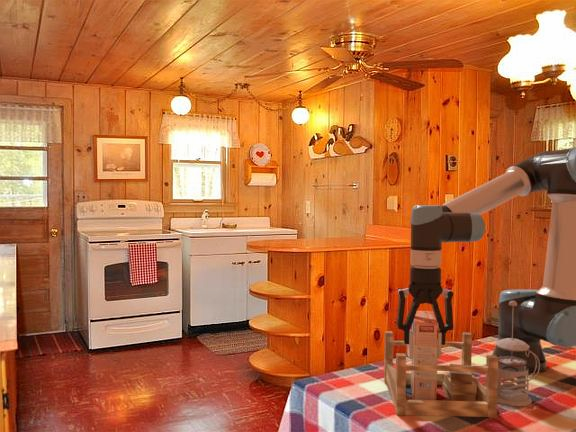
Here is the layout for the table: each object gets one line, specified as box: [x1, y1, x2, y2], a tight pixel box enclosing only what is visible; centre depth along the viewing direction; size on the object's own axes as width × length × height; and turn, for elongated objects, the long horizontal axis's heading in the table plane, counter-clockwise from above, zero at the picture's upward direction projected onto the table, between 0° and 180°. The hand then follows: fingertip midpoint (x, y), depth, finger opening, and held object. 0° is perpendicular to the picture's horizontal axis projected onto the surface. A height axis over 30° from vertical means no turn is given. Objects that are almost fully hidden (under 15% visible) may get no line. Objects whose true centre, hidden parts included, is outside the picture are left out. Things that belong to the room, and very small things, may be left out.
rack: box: [383, 330, 498, 418], centre depth 132 cm, size 23×22×14 cm
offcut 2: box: [444, 373, 477, 395], centre depth 133 cm, size 6×8×2 cm
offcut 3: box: [441, 382, 476, 401], centre depth 133 cm, size 6×9×2 cm, turn 177°
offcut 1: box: [449, 363, 473, 384], centre depth 133 cm, size 5×7×2 cm
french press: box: [494, 301, 540, 407], centre depth 132 cm, size 10×12×25 cm
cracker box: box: [410, 310, 439, 400], centre depth 132 cm, size 14×6×21 cm, turn 168°
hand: (424, 356), depth 132 cm, fingers closed on cracker box, 6 cm apart
